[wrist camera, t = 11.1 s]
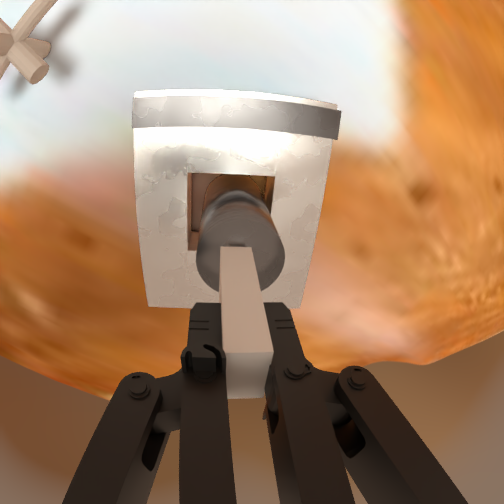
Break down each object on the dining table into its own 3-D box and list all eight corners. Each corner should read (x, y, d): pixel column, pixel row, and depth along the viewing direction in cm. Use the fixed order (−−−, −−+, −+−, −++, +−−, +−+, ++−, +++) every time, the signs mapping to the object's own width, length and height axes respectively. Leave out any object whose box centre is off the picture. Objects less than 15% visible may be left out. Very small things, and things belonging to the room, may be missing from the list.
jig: (154, 284, 27) (144, 321, 22) (147, 93, 18) (125, 90, 14) (291, 286, 29) (304, 322, 24) (321, 104, 20) (349, 105, 15)
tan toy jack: (109, 32, 15) (48, 0, 6) (40, 120, 17) (-35, 142, 9) (55, -11, 11) (-5, -37, 2) (-5, 71, 13) (-73, 78, 4)
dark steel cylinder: (204, 224, 25) (196, 295, 16) (205, 171, 22) (195, 218, 14) (258, 226, 25) (278, 296, 17) (263, 174, 23) (291, 221, 14)
